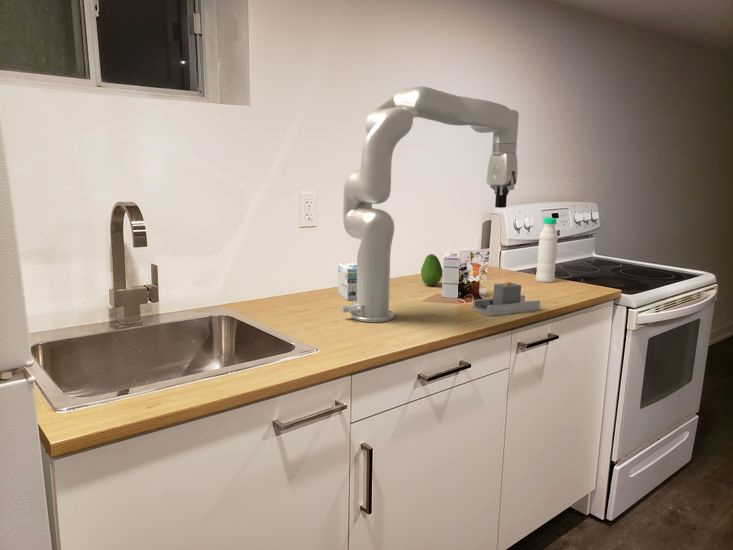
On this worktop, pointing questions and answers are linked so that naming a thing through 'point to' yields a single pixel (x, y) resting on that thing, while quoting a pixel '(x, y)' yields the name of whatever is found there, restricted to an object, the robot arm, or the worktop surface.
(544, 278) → the milk bottle
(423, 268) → the avocado
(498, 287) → the block
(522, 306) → the rail
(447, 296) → the syrup box
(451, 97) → the robot arm
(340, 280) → the light bulb box
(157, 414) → the worktop surface
